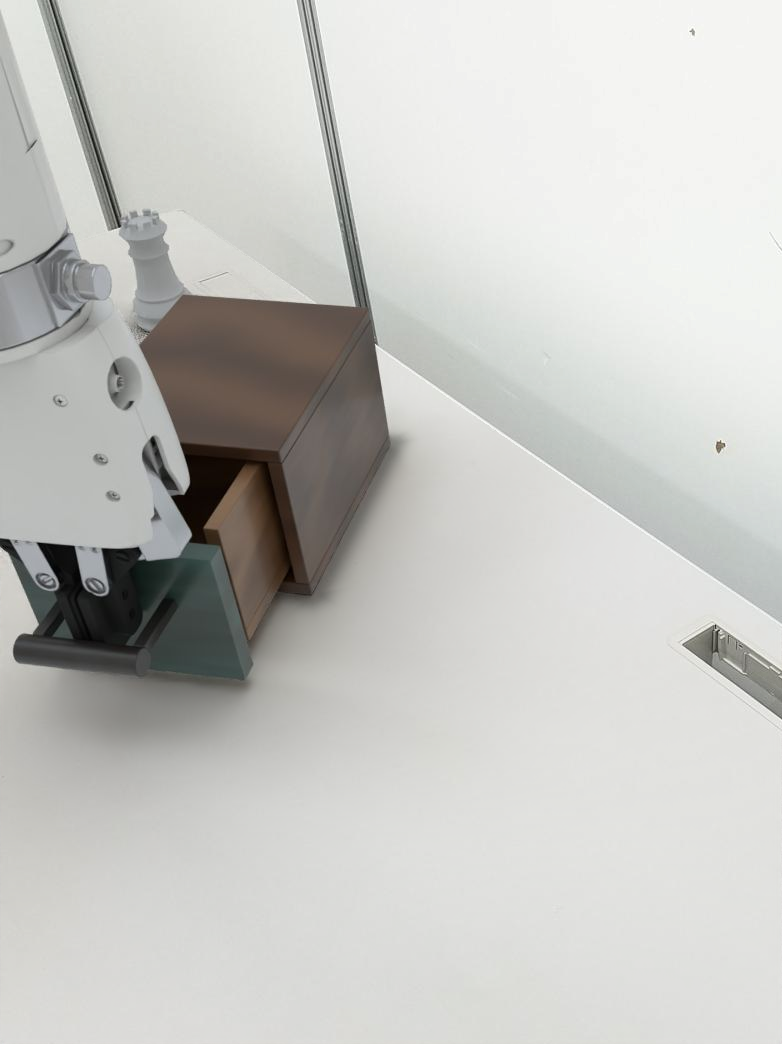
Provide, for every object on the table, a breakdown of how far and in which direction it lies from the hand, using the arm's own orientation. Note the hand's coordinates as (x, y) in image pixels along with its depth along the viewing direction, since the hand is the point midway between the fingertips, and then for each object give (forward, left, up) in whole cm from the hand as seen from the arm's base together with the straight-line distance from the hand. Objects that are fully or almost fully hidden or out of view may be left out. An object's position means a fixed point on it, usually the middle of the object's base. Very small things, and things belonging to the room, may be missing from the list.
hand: (112, 637), depth 60 cm
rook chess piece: (-15, +37, -5) cm, 40 cm away
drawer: (0, +6, -4) cm, 7 cm away
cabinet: (0, +17, -5) cm, 17 cm away
